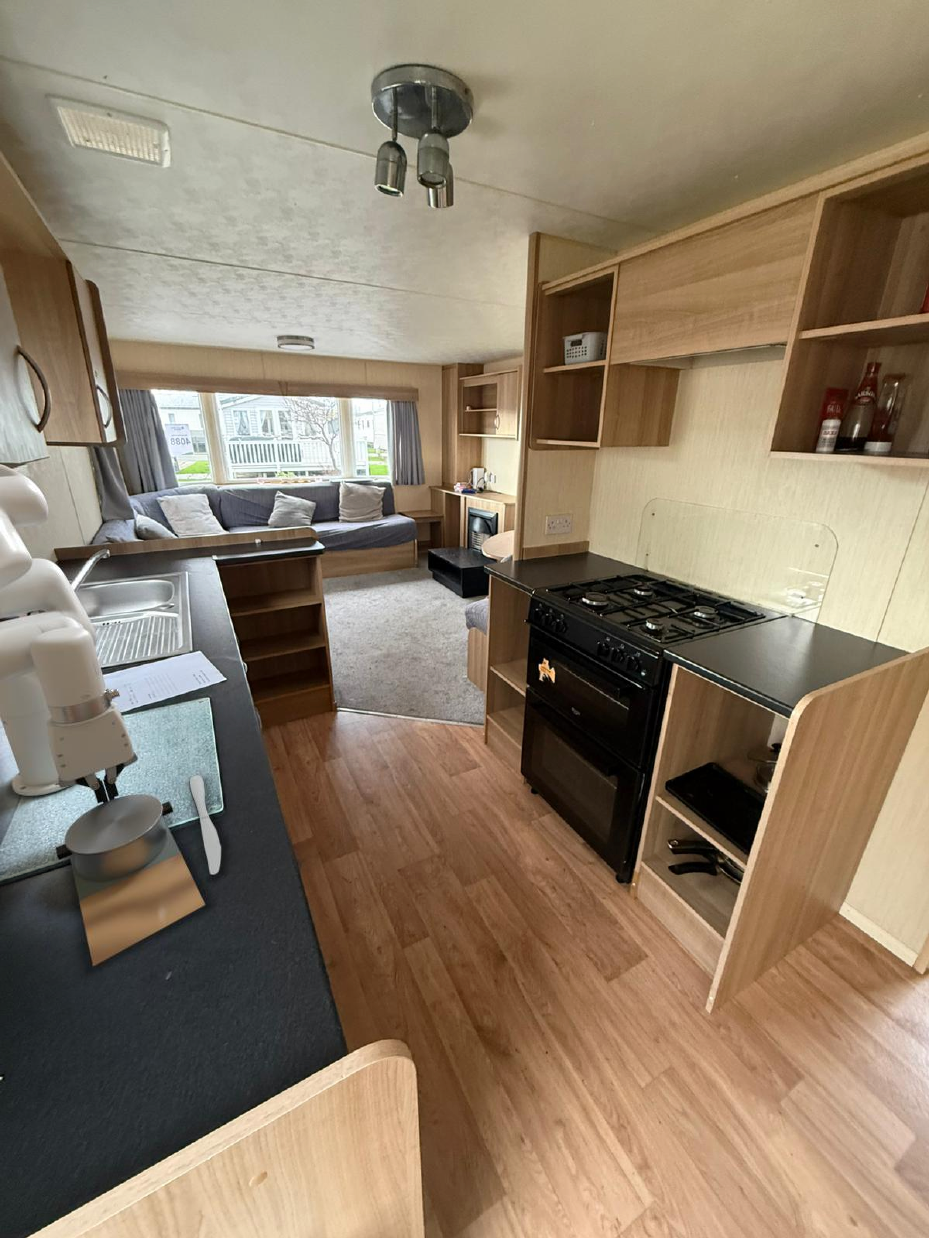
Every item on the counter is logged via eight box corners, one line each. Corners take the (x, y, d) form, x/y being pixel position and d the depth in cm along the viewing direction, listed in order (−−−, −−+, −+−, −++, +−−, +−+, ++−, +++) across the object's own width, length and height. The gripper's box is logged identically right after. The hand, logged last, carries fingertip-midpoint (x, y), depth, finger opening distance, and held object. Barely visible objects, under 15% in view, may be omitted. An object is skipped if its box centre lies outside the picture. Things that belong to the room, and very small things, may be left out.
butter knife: (206, 771, 97) (188, 776, 96) (227, 869, 76) (205, 876, 74) (206, 774, 97) (189, 778, 96) (227, 872, 76) (205, 880, 75)
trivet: (79, 902, 71) (79, 900, 71) (180, 854, 79) (180, 852, 79) (93, 967, 62) (93, 966, 62) (205, 906, 70) (205, 904, 70)
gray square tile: (68, 851, 79) (68, 849, 79) (161, 812, 88) (160, 811, 88) (79, 902, 71) (79, 900, 71) (180, 854, 79) (180, 852, 79)
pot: (60, 851, 79) (50, 822, 77) (166, 807, 88) (160, 780, 86) (70, 904, 70) (59, 872, 68) (187, 848, 80) (180, 820, 78)
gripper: (131, 683, 86) (154, 773, 92) (17, 713, 76) (51, 811, 82) (140, 698, 81) (164, 793, 87) (19, 733, 71) (55, 836, 77)
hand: (109, 802), depth 85 cm, fingers closed
